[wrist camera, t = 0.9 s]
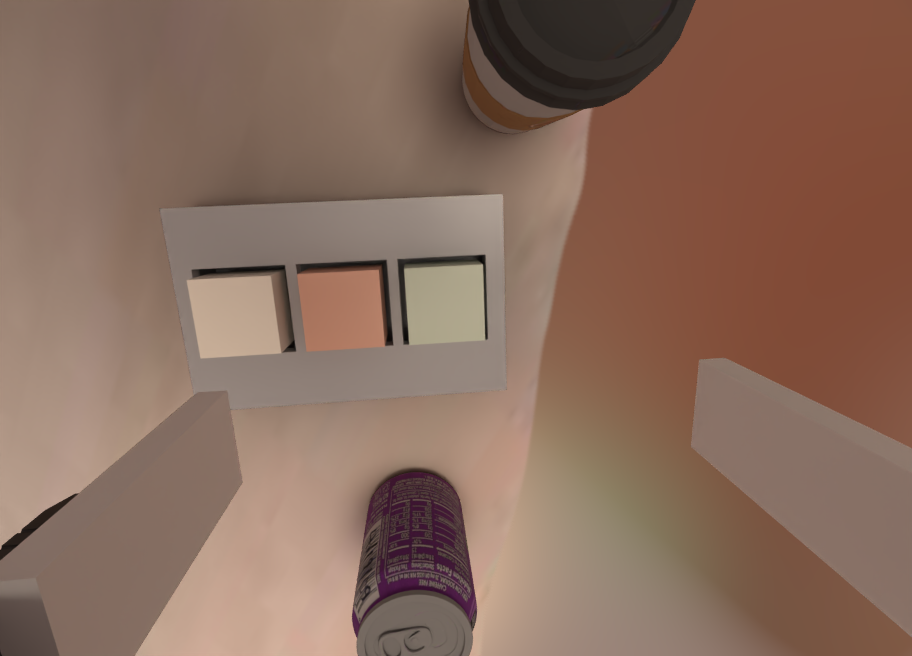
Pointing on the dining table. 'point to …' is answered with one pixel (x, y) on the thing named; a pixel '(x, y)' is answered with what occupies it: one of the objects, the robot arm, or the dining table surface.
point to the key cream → (241, 313)
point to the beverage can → (414, 572)
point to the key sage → (445, 301)
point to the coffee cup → (561, 55)
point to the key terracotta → (343, 307)
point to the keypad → (333, 245)
